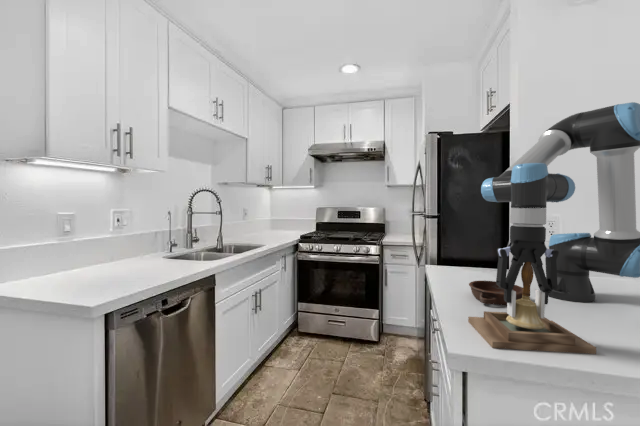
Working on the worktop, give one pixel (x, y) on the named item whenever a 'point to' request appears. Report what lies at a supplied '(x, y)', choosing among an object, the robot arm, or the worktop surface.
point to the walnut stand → (528, 335)
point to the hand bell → (526, 304)
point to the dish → (492, 292)
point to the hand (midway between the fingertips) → (525, 315)
